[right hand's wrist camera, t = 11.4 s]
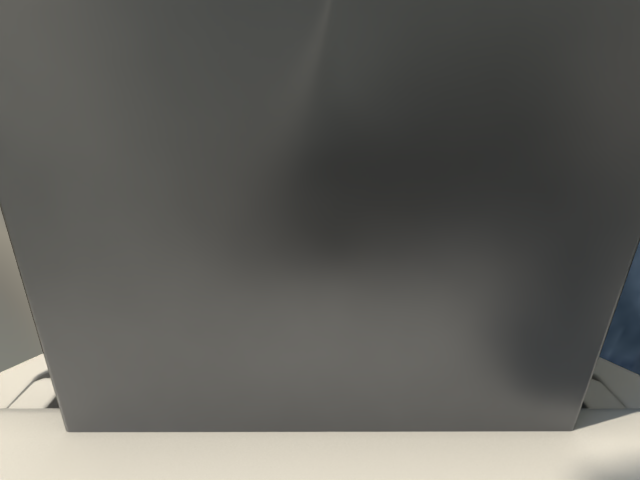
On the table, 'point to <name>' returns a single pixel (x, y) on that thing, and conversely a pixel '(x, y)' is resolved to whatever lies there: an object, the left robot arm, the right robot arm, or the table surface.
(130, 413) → the box
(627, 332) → the table surface
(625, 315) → the table surface
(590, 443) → the right robot arm
